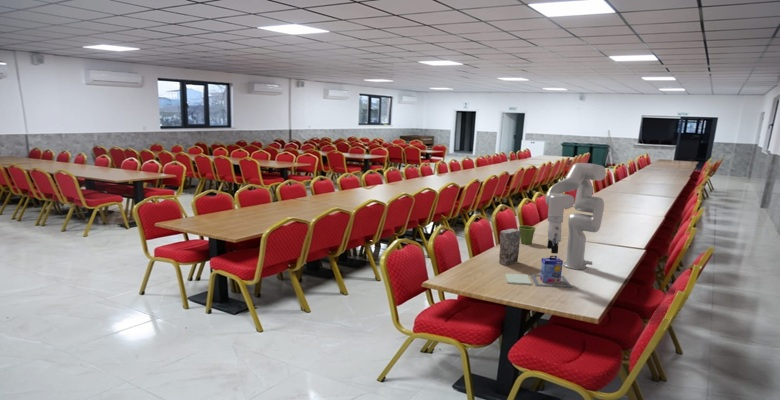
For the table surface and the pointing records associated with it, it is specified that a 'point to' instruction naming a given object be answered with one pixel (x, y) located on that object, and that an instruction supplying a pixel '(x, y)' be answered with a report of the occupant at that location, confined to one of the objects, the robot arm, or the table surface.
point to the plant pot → (526, 234)
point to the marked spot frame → (550, 285)
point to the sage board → (518, 279)
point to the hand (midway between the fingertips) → (552, 250)
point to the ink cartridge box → (551, 270)
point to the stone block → (509, 246)
